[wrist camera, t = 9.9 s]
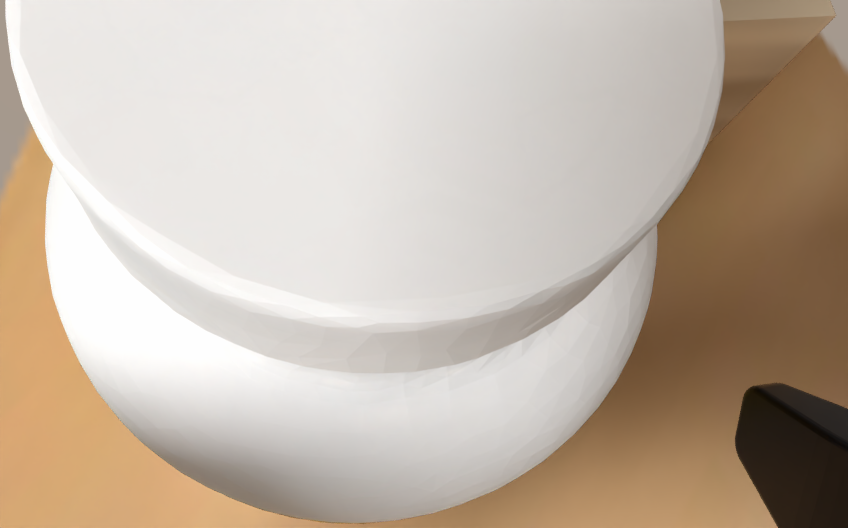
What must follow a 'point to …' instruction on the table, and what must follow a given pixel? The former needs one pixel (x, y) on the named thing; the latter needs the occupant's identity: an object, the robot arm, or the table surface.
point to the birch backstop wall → (762, 46)
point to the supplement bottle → (360, 226)
